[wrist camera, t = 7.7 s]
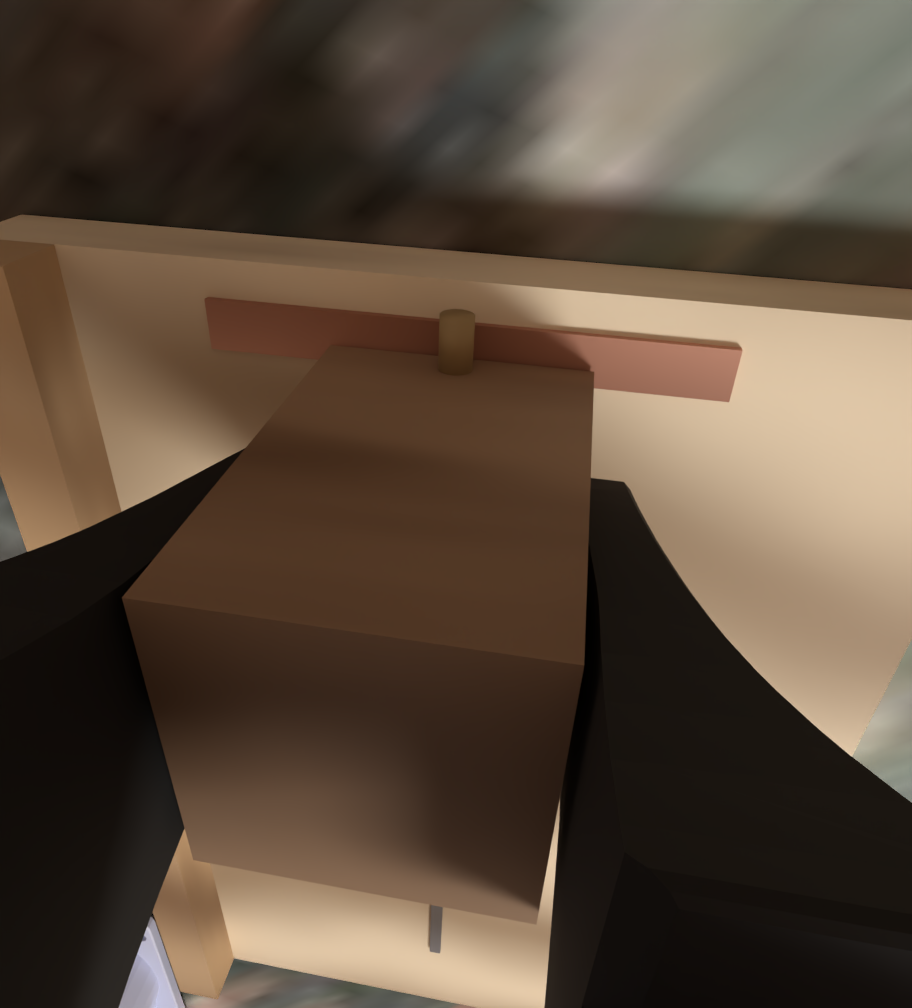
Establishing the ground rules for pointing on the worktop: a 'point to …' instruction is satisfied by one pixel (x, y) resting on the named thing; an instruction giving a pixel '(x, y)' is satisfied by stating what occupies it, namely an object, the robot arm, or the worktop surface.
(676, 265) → the worktop surface
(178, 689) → the wooden block
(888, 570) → the board
